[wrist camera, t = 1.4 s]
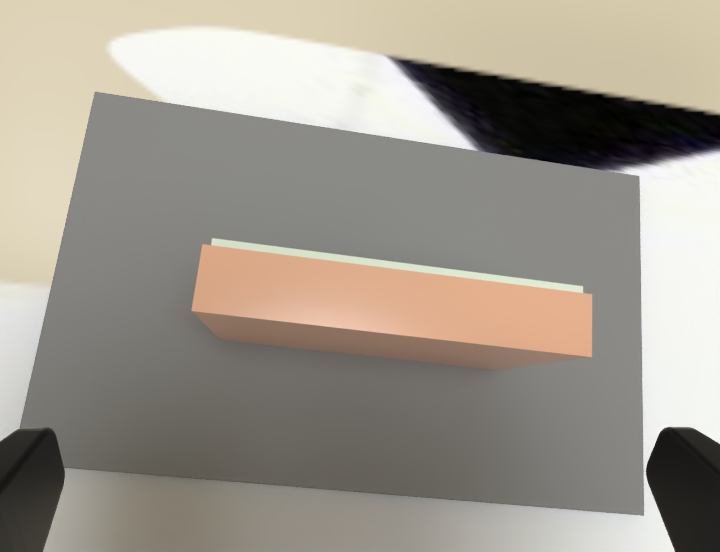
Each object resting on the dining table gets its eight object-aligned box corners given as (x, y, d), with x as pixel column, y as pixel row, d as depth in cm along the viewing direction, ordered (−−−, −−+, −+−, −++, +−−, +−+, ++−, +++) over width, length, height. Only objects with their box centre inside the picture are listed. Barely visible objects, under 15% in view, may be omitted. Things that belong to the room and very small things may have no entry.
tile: (493, 370, 23) (591, 357, 16) (220, 339, 22) (191, 310, 15) (496, 320, 24) (592, 286, 16) (228, 288, 22) (204, 235, 15)
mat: (637, 513, 23) (643, 515, 23) (16, 461, 20) (12, 463, 20) (634, 179, 26) (639, 176, 26) (98, 96, 24) (95, 91, 23)
